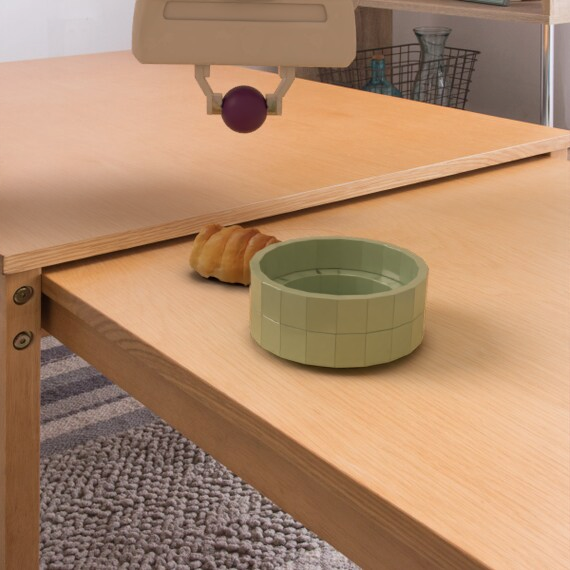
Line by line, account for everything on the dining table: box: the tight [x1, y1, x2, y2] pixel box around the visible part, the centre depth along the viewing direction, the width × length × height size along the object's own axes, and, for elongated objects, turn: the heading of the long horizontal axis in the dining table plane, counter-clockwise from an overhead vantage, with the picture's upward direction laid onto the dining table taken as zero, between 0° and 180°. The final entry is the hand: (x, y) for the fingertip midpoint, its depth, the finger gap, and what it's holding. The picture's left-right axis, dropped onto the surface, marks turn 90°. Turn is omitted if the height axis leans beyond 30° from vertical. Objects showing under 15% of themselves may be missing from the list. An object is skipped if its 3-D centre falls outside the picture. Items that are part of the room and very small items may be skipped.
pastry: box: [188, 222, 283, 286], centre depth 77 cm, size 9×7×4 cm
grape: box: [220, 84, 268, 134], centre depth 86 cm, size 4×4×4 cm
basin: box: [248, 235, 430, 369], centre depth 66 cm, size 12×12×6 cm
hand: (243, 114), depth 86 cm, fingers closed on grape, 4 cm apart
